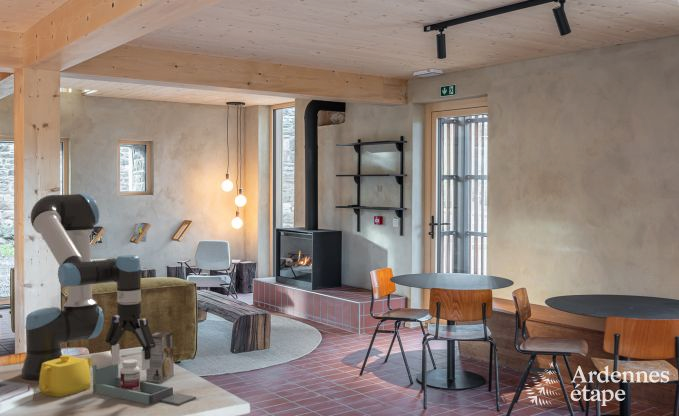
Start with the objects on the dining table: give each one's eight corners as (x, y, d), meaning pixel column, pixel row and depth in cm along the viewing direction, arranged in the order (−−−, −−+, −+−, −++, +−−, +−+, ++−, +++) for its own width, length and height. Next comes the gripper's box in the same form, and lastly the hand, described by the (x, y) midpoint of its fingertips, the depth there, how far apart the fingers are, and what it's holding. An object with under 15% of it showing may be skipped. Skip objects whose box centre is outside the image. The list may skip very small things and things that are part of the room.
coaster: (159, 401, 234) (159, 399, 234) (177, 394, 241) (177, 392, 241) (178, 405, 230) (178, 403, 230) (195, 398, 237) (195, 396, 237)
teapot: (80, 379, 258) (80, 346, 258) (104, 385, 252) (103, 351, 251) (29, 394, 242) (29, 358, 241) (53, 400, 235) (52, 364, 234)
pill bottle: (122, 391, 245) (122, 358, 244) (141, 390, 245) (141, 358, 245) (118, 397, 238) (118, 363, 238) (138, 396, 239) (137, 363, 238)
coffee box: (157, 374, 265) (157, 330, 264) (174, 375, 263) (173, 331, 262) (145, 381, 256) (145, 336, 255) (163, 382, 254) (162, 337, 253)
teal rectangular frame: (89, 391, 244) (88, 354, 244) (112, 383, 253) (111, 348, 252) (150, 404, 231) (150, 365, 230) (172, 396, 239) (172, 358, 238)
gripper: (93, 301, 243) (95, 364, 244) (148, 307, 231) (150, 374, 232) (111, 298, 250) (112, 359, 250) (165, 303, 237) (167, 368, 238)
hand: (130, 366), depth 241 cm, fingers open, 13 cm apart
